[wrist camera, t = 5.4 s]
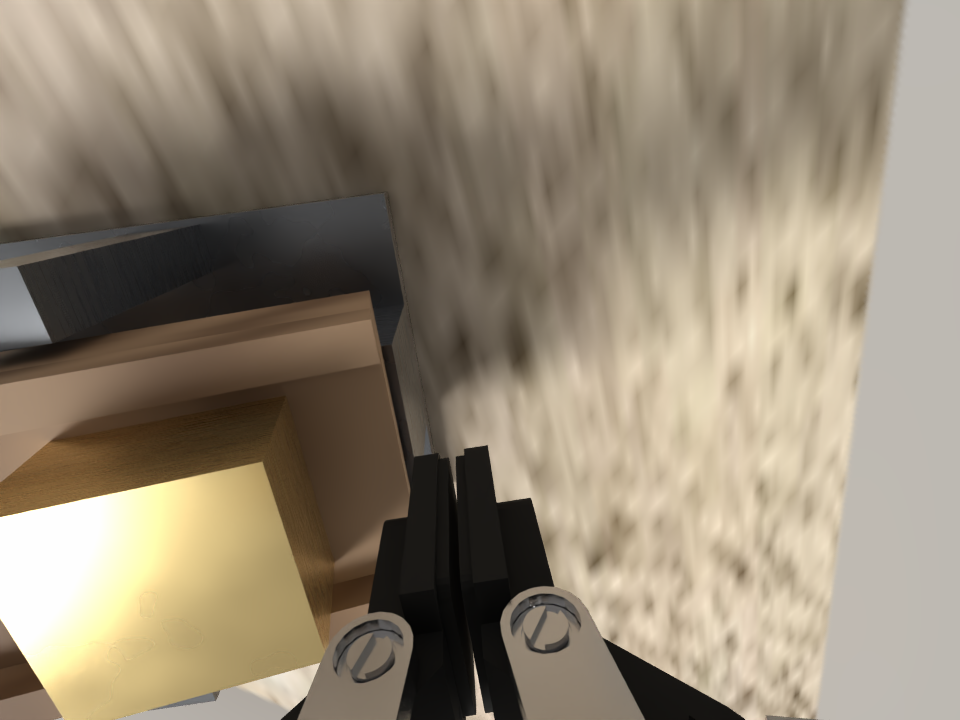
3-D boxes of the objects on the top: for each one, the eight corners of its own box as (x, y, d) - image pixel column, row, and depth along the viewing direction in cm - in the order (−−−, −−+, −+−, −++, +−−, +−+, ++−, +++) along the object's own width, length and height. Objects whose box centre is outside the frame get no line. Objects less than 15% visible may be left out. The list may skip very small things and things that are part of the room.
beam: (369, 290, 13) (370, 319, 11) (421, 542, 16) (433, 616, 14) (-557, 445, 10) (-889, 541, 8) (-284, 717, 13) (-452, 857, 11)
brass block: (286, 395, 12) (262, 461, 9) (334, 562, 14) (327, 660, 11) (49, 441, 11) (-56, 529, 8) (134, 612, 13) (71, 731, 10)
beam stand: (386, 191, 18) (337, 212, 10) (441, 489, 23) (437, 673, 14) (-149, 263, 18) (-658, 345, 10) (16, 549, 22) (-233, 771, 14)
